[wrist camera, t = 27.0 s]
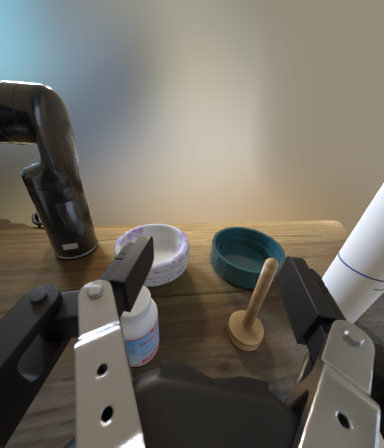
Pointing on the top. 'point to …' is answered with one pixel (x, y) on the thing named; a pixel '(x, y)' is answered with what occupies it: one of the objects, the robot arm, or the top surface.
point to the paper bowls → (161, 251)
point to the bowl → (244, 255)
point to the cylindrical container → (360, 264)
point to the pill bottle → (141, 329)
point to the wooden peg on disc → (252, 312)
